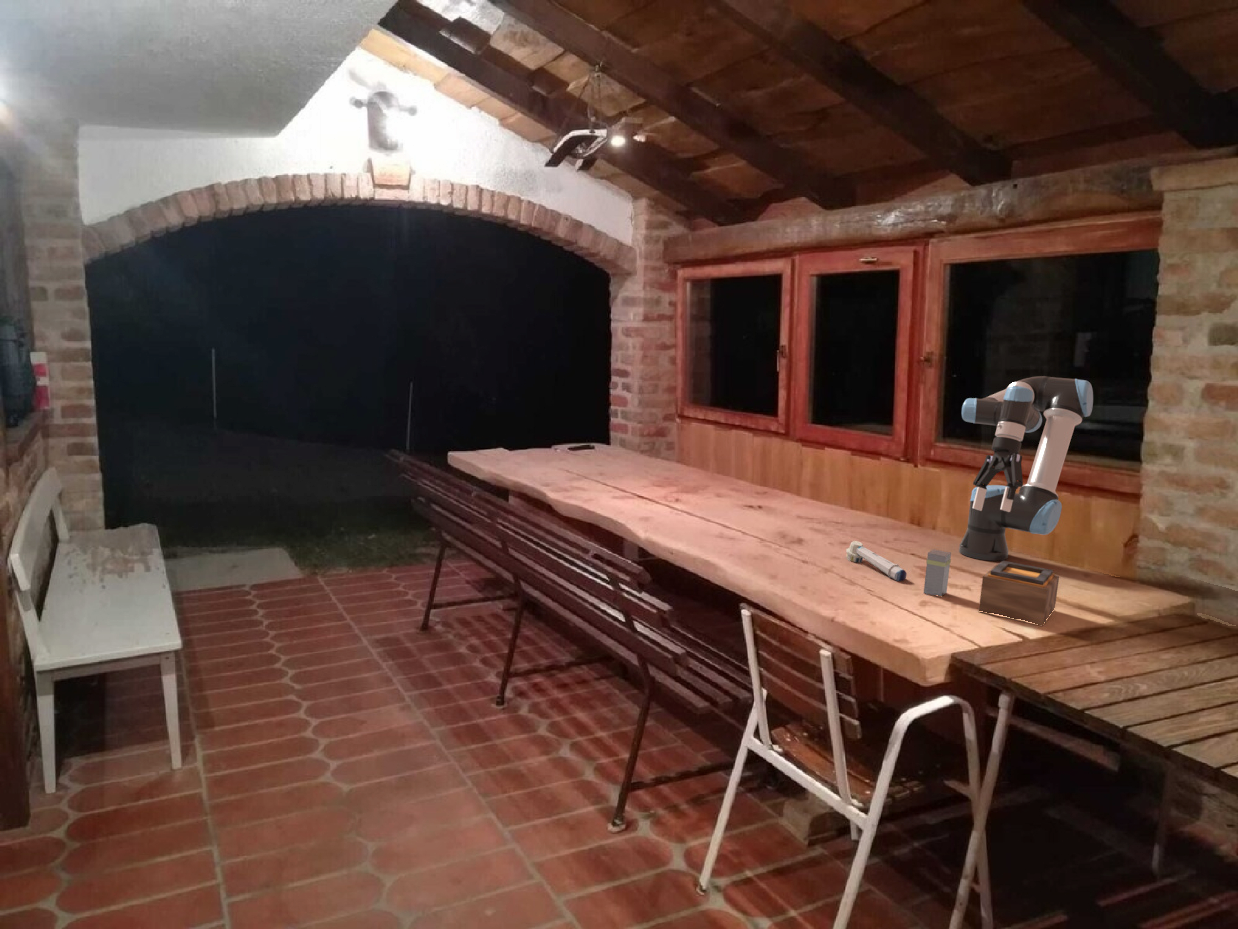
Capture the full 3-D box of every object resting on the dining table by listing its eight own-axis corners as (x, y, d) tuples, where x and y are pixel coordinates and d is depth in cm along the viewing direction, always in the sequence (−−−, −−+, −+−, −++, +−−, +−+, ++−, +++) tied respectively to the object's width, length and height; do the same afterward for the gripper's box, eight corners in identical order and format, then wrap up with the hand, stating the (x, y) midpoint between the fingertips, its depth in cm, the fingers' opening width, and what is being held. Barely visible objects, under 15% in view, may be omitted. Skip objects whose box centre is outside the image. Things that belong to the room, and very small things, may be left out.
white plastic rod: (895, 570, 268) (845, 536, 290) (891, 590, 270) (841, 556, 292) (909, 568, 270) (858, 535, 292) (905, 589, 272) (855, 554, 294)
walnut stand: (993, 597, 258) (998, 558, 256) (1054, 610, 249) (1060, 570, 247) (978, 612, 246) (983, 571, 243) (1042, 626, 237) (1048, 583, 234)
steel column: (928, 589, 263) (933, 549, 261) (946, 593, 261) (951, 552, 258) (923, 593, 259) (927, 552, 257) (941, 597, 256) (946, 556, 254)
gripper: (971, 437, 275) (955, 505, 274) (1024, 433, 251) (1005, 507, 249) (993, 444, 277) (976, 512, 275) (1047, 440, 252) (1029, 514, 251)
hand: (990, 510), depth 262 cm, fingers open, 13 cm apart
